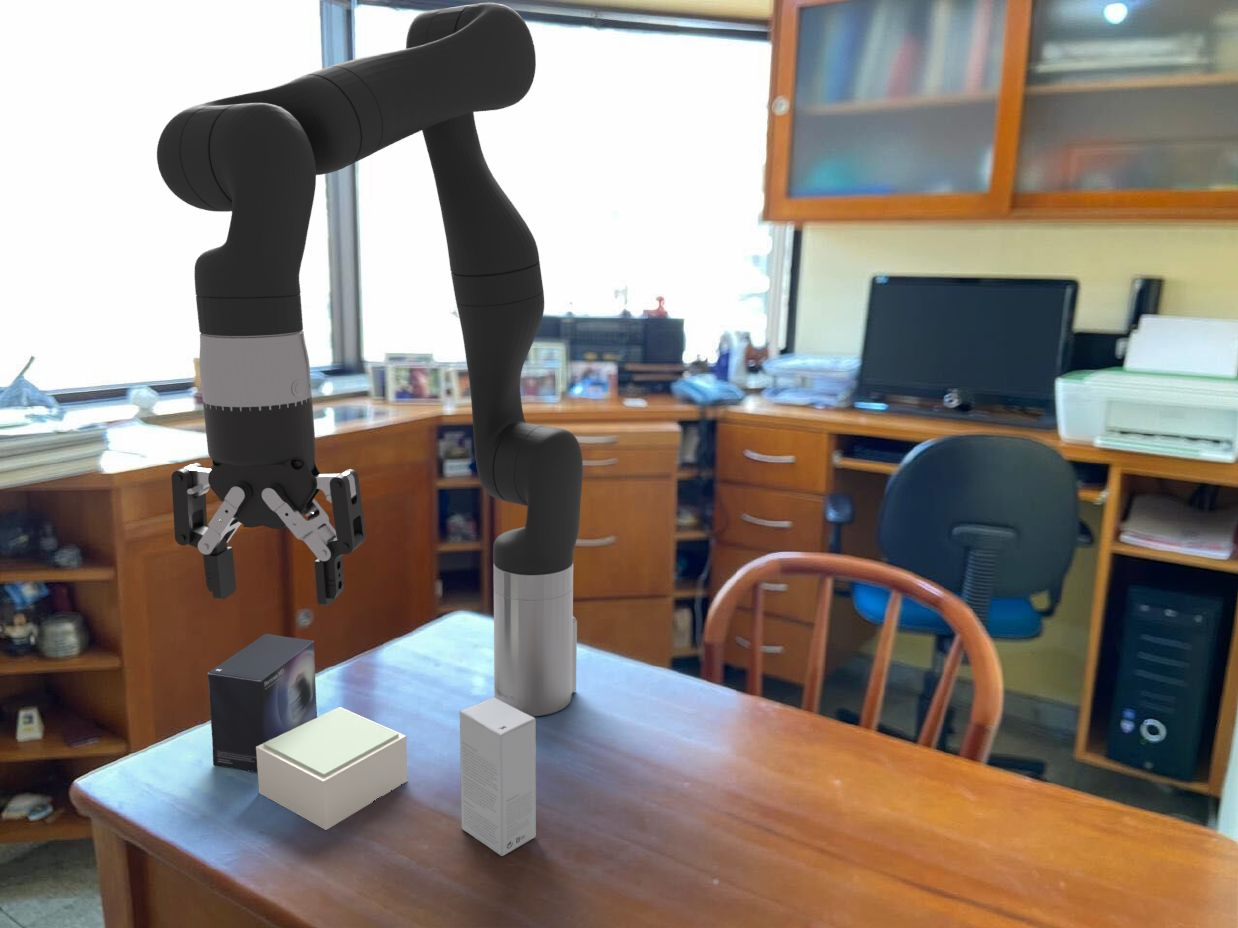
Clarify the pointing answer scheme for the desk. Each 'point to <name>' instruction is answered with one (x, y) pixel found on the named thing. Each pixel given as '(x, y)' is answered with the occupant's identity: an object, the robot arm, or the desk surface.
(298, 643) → the small box
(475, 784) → the skincare box
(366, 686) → the desk surface
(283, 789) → the cream rectangular block
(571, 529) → the robot arm
